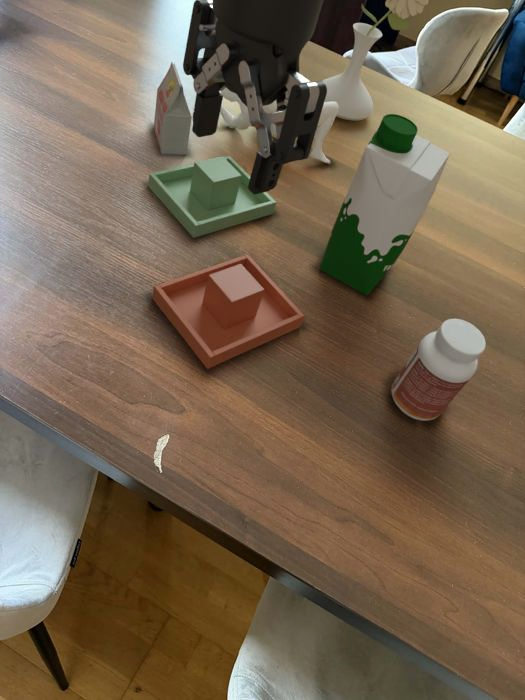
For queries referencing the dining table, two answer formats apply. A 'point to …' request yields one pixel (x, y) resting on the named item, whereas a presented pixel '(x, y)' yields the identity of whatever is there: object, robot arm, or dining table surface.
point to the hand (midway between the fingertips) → (230, 161)
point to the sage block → (215, 182)
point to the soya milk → (383, 204)
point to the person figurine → (244, 122)
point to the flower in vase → (348, 84)
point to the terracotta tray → (204, 330)
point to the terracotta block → (232, 296)
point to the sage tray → (191, 211)
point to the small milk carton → (172, 115)
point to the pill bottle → (438, 369)
